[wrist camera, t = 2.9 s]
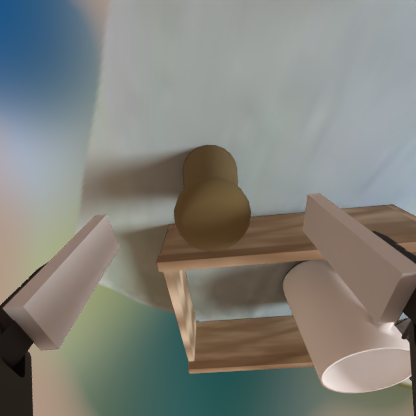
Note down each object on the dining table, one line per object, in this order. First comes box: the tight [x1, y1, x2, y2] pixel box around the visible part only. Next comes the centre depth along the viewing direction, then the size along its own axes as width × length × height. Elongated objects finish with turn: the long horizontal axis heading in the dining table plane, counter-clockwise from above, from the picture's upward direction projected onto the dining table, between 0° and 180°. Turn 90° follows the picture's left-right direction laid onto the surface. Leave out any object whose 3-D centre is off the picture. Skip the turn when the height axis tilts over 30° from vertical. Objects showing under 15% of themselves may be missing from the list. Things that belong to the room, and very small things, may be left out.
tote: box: [156, 205, 416, 373], centre depth 26 cm, size 22×28×7 cm
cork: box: [174, 145, 251, 252], centre depth 17 cm, size 6×6×11 cm
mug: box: [283, 259, 411, 393], centre depth 24 cm, size 10×12×12 cm
